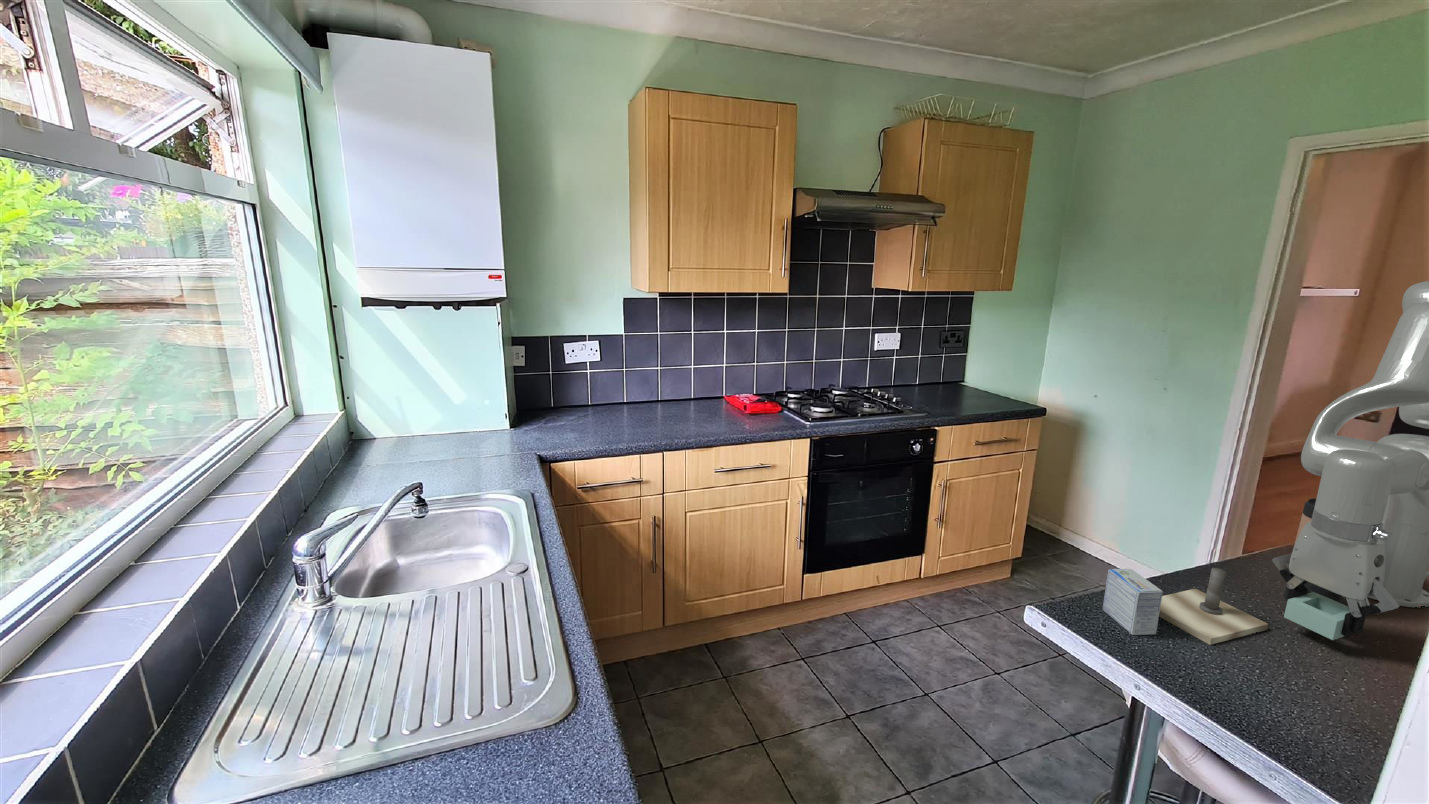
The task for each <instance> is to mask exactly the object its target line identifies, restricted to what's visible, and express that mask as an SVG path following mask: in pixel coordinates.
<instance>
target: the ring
mask: <svg viewBox="0 0 1429 804" xmlns="http://www.w3.org/2000/svg"><path fill="white" fill-rule="evenodd" d="M1347 613H1350V609H1349V606H1348V605H1345V604H1344V603H1341V602H1340V603H1339V602H1336V601H1334V600H1332V599H1329V598H1327V597H1325V596H1322V595H1320V594H1317V593H1315V592H1311V593H1308V594H1306V595H1303V596H1299V597H1296V598H1291V599H1288V601H1286V606H1285V611H1284V615H1283V618H1284V619H1286V620H1289V621H1291V622H1293V623H1294V624H1297V625H1299V626H1301V627H1304V628H1305V629H1307V630H1310V631H1311V632H1312V631H1313V632H1314V633H1317V634H1319V635H1321V636H1323V637H1325V638H1327V639H1329V640H1331V641H1334V640H1337V639H1339V638H1343V637H1345V636H1344V635H1342V634H1341V632H1342V628H1343V624H1344V620H1345V619H1344V617H1345V614H1347Z"/></svg>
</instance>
